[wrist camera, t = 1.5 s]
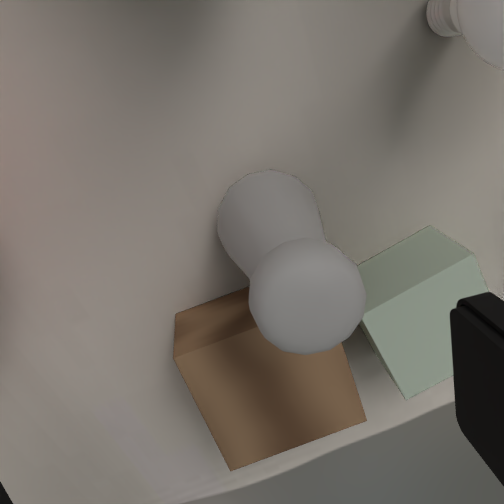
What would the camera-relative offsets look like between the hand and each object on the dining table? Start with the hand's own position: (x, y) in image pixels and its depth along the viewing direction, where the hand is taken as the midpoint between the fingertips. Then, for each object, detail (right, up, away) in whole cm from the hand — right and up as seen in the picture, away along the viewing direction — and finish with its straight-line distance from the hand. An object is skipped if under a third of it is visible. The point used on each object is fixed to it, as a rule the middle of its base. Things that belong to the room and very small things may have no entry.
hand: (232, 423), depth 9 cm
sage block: (+11, +1, +23) cm, 25 cm away
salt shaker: (+1, +6, +19) cm, 20 cm away
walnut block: (+1, -3, +23) cm, 23 cm away
